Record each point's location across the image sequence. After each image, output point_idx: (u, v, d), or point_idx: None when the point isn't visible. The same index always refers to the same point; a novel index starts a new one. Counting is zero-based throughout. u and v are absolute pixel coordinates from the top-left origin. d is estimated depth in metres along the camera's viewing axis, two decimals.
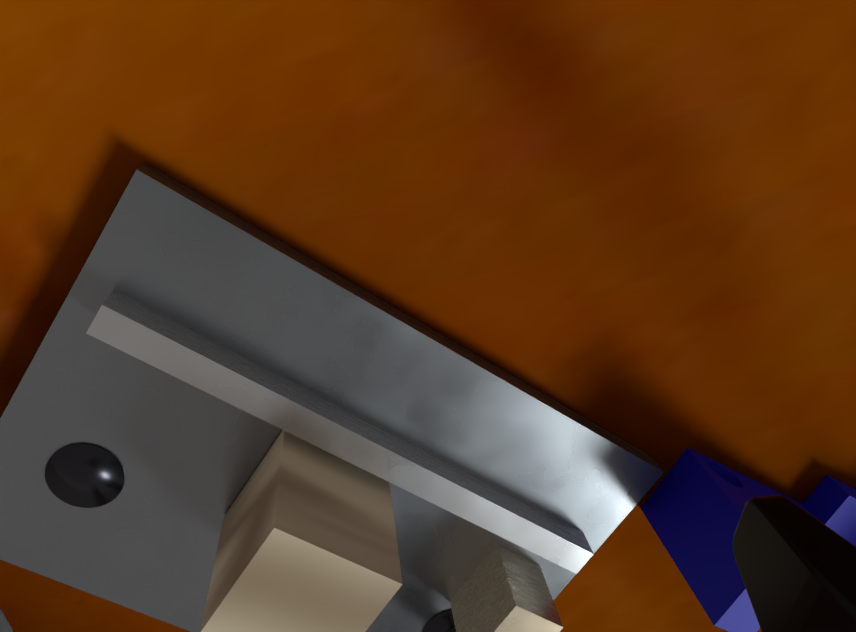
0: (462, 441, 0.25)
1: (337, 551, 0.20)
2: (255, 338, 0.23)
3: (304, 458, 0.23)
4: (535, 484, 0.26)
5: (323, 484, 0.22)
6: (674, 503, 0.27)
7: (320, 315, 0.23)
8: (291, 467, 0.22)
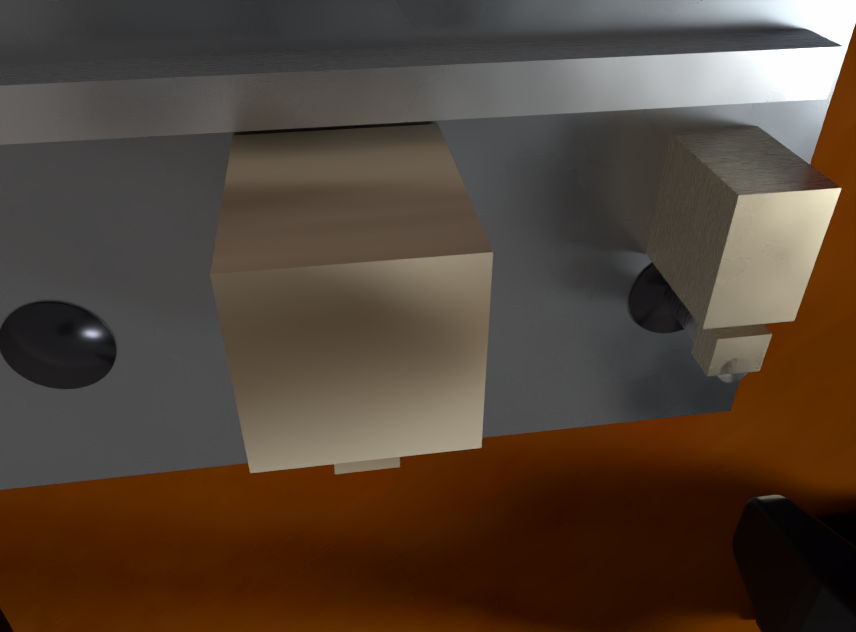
0: None
1: (348, 257, 0.11)
2: (77, 18, 0.13)
3: (271, 158, 0.13)
4: None
5: (311, 177, 0.13)
6: None
7: None
8: (246, 179, 0.13)
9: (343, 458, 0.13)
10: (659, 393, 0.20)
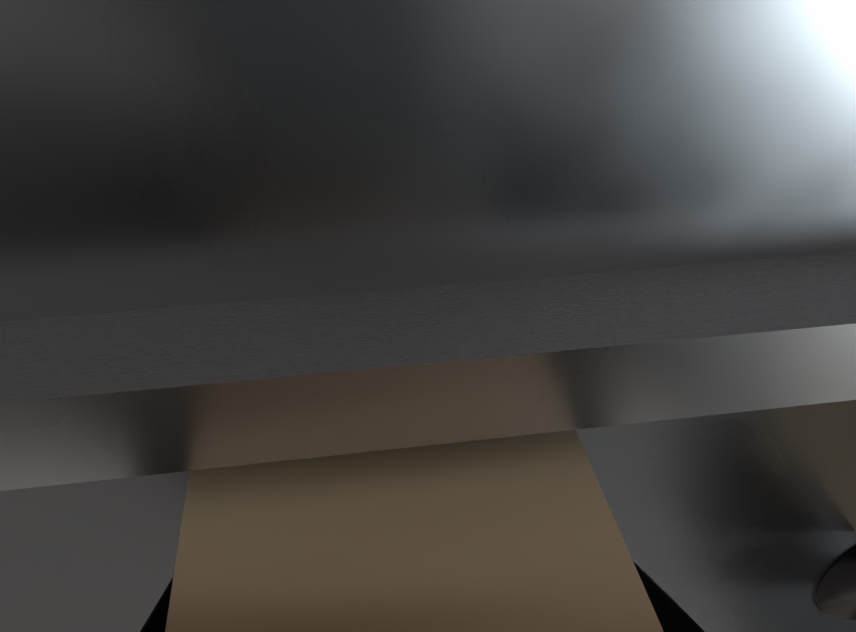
0: (718, 184, 0.07)
1: None
2: None
3: (265, 506, 0.07)
4: None
5: (342, 578, 0.06)
6: None
7: None
8: (213, 586, 0.06)
9: None
10: None
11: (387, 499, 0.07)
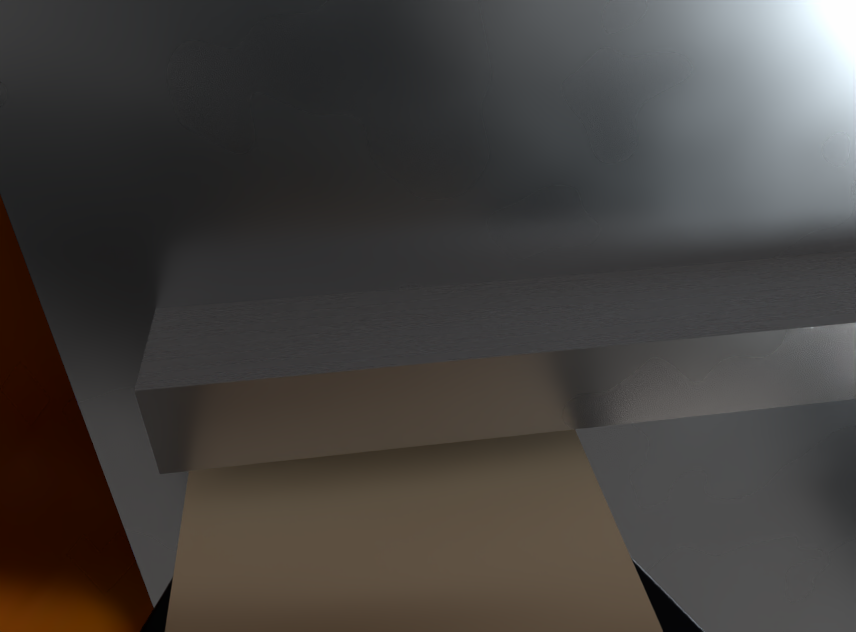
0: None
1: None
2: (587, 211, 0.07)
3: (265, 505, 0.07)
4: None
5: (342, 579, 0.06)
6: None
7: (756, 24, 0.06)
8: (213, 586, 0.06)
9: None
10: None
11: (387, 499, 0.07)
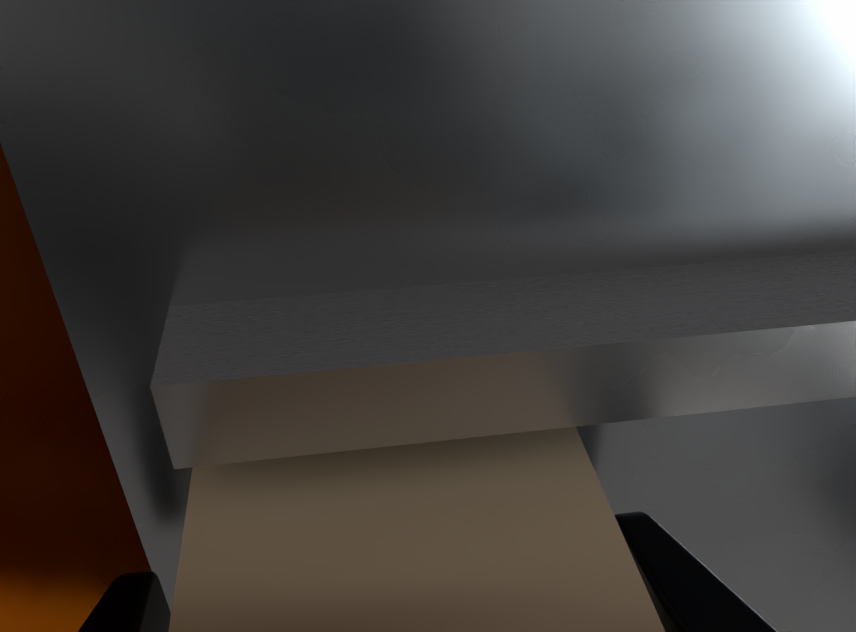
0: None
1: None
2: (597, 209, 0.07)
3: (268, 502, 0.07)
4: None
5: (345, 575, 0.06)
6: None
7: (765, 25, 0.06)
8: (217, 581, 0.06)
9: None
10: None
11: (389, 495, 0.07)
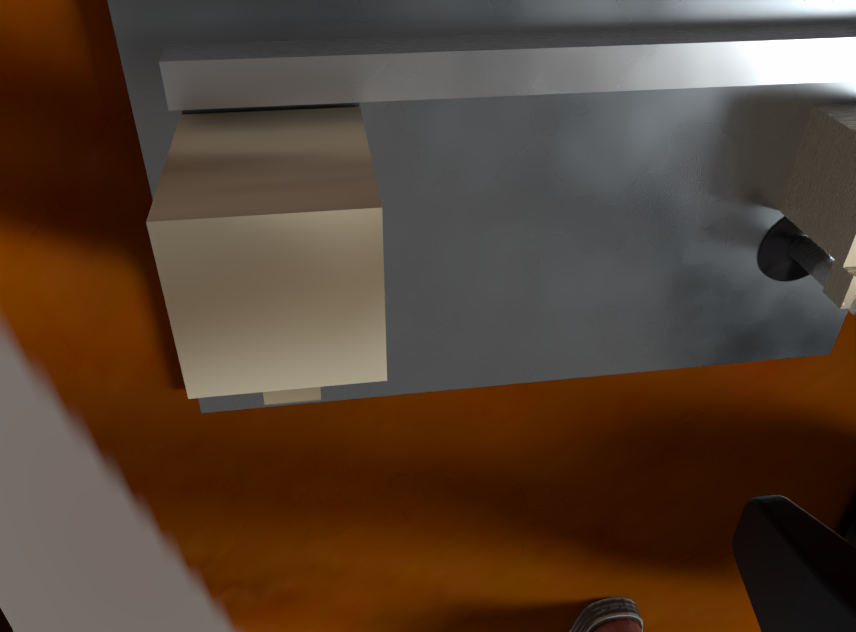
0: None
1: (262, 210, 0.13)
2: (363, 3, 0.16)
3: (211, 133, 0.16)
4: None
5: (243, 148, 0.15)
6: None
7: None
8: (187, 149, 0.15)
9: (267, 387, 0.15)
10: (772, 336, 0.23)
11: (267, 132, 0.16)
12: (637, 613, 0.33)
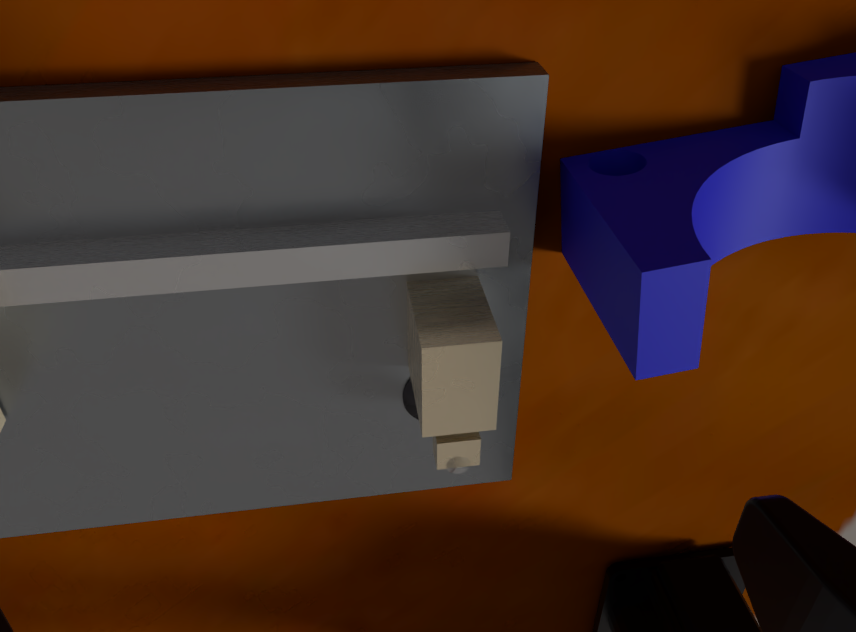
0: (258, 193, 0.18)
1: None
2: None
3: None
4: (391, 190, 0.19)
5: None
6: (574, 235, 0.20)
7: None
8: None
9: None
10: None
11: None
12: None
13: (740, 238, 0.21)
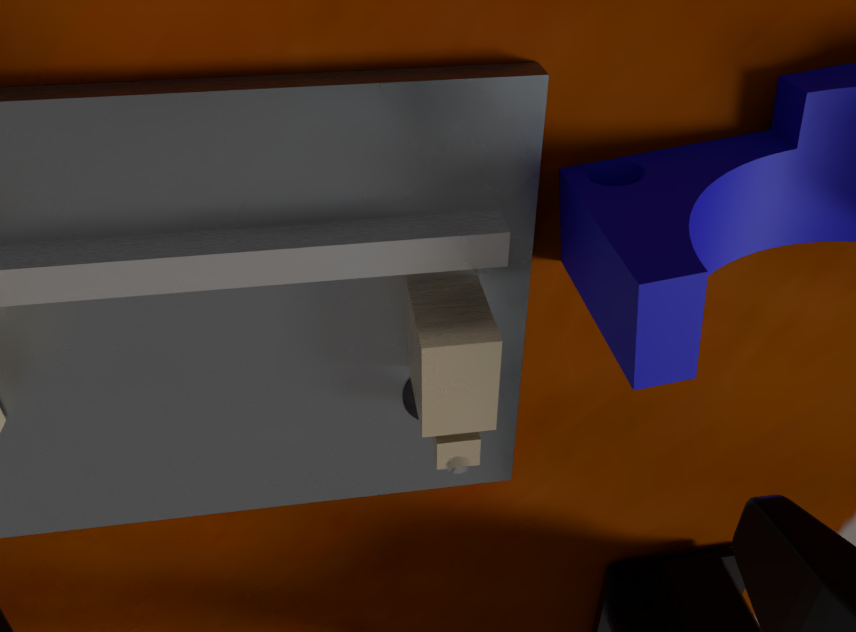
0: (258, 193, 0.18)
1: None
2: None
3: None
4: (391, 190, 0.19)
5: None
6: (573, 244, 0.20)
7: None
8: None
9: None
10: None
11: None
12: None
13: (738, 247, 0.21)
